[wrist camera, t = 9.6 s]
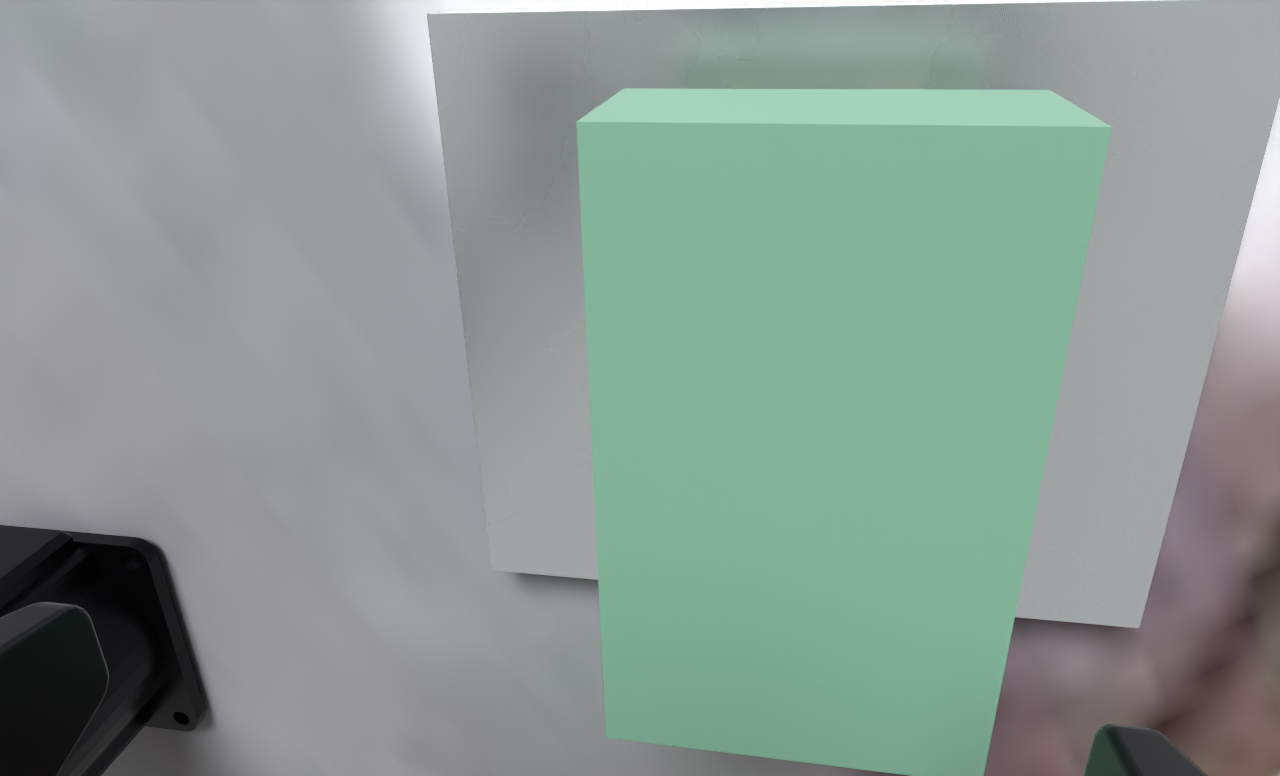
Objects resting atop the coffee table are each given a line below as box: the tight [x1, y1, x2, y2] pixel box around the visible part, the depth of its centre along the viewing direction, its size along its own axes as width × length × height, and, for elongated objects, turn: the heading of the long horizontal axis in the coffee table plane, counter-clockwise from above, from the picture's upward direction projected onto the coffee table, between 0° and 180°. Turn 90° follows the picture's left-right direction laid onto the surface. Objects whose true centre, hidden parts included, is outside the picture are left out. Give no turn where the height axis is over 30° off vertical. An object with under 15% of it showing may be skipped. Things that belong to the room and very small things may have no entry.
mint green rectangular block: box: [576, 88, 1112, 776], centre depth 14 cm, size 10×6×3 cm, turn 1°
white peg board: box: [427, 0, 1280, 628], centre depth 17 cm, size 12×14×4 cm
